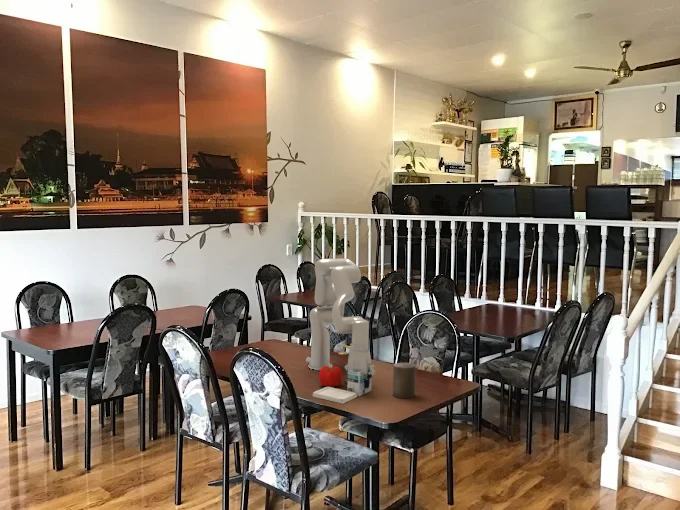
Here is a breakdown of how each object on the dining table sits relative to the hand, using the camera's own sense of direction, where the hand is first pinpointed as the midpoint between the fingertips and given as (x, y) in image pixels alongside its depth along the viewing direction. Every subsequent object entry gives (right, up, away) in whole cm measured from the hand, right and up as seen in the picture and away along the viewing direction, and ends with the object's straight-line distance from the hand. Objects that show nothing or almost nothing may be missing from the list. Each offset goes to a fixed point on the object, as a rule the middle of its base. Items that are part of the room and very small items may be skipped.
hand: (359, 386), depth 267 cm
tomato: (-13, -2, +9) cm, 16 cm away
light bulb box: (0, -3, 0) cm, 3 cm away
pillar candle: (+20, -4, -3) cm, 20 cm away
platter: (-11, -3, -7) cm, 13 cm away
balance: (-1, -2, +14) cm, 14 cm away
